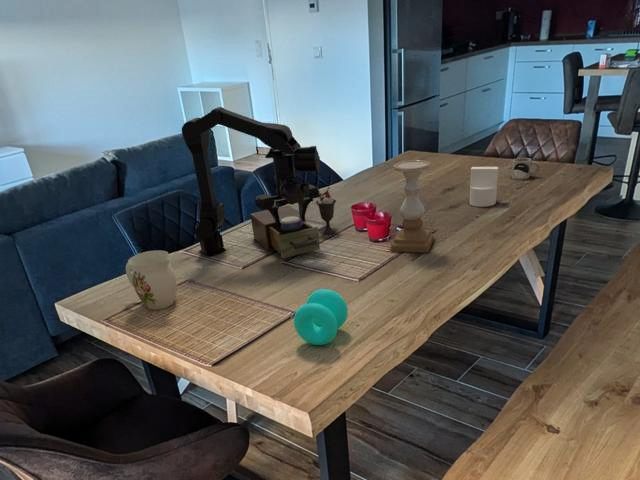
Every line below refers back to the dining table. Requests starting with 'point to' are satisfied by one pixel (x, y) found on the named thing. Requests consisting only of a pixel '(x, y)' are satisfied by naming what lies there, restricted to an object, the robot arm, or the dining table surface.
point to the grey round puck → (291, 223)
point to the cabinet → (268, 223)
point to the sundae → (326, 210)
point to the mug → (523, 168)
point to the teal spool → (321, 317)
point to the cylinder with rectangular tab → (483, 186)
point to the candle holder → (412, 211)
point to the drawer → (294, 240)
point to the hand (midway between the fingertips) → (290, 224)
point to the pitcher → (153, 278)
